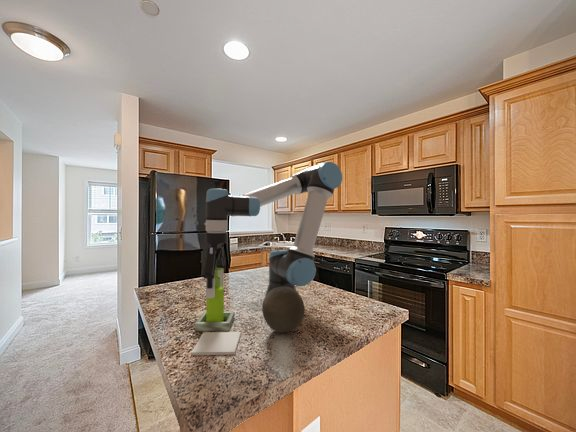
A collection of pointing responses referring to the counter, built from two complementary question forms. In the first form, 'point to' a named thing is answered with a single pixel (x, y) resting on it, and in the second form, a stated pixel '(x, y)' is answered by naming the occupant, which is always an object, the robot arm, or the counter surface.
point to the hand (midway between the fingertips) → (215, 291)
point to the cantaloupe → (283, 309)
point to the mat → (217, 343)
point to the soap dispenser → (216, 302)
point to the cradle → (214, 323)
